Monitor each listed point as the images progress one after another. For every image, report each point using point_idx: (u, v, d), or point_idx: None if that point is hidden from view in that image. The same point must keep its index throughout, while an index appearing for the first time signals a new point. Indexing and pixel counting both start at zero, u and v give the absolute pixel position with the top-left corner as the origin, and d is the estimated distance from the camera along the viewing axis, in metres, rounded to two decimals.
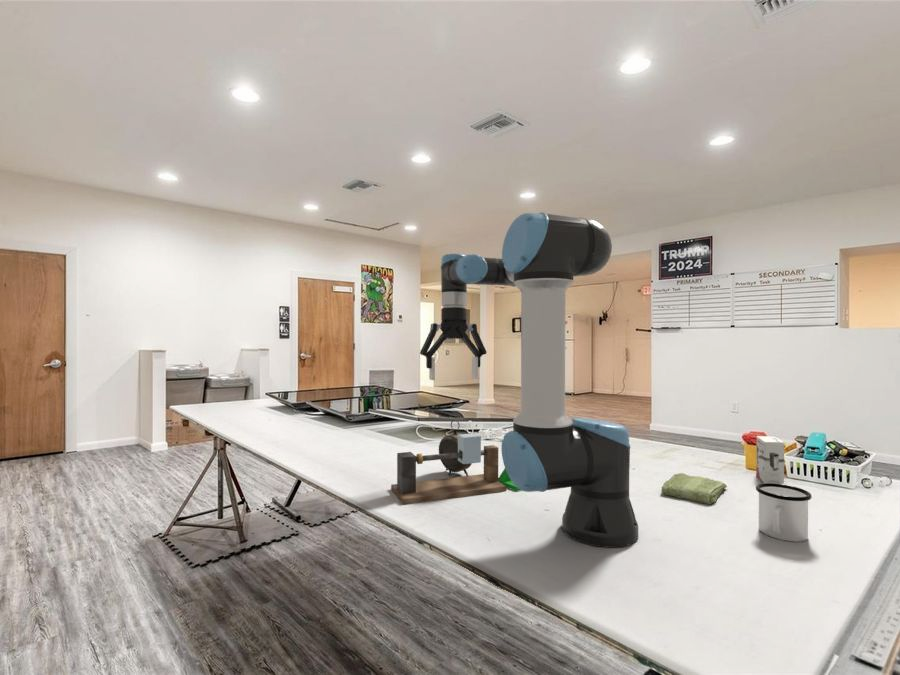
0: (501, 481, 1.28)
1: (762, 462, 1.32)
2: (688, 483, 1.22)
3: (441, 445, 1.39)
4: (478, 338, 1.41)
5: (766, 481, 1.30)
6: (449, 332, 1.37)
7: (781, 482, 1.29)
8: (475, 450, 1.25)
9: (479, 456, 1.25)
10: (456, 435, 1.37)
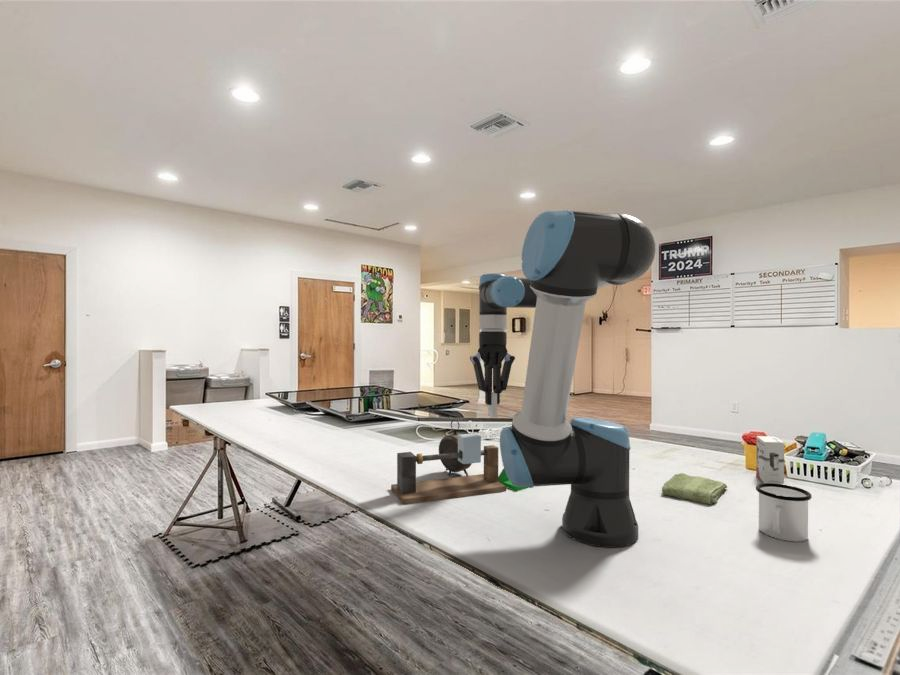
0: (500, 481, 1.29)
1: (762, 462, 1.32)
2: (689, 483, 1.22)
3: (441, 445, 1.39)
4: (508, 371, 1.30)
5: (766, 481, 1.30)
6: (491, 359, 1.27)
7: (781, 482, 1.29)
8: (475, 450, 1.25)
9: (479, 456, 1.25)
10: (456, 435, 1.37)
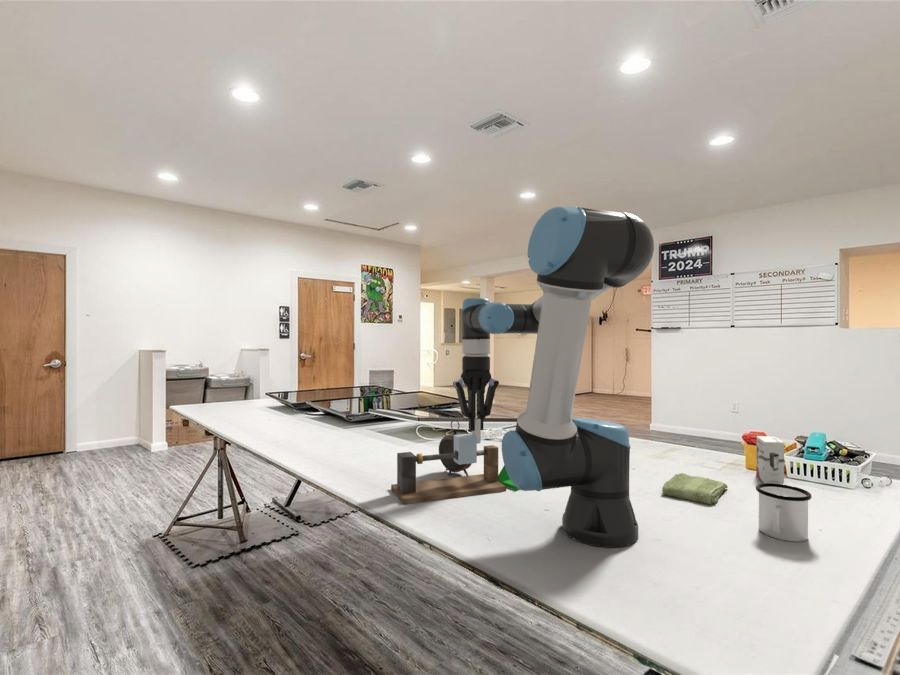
0: (500, 481, 1.29)
1: (762, 462, 1.32)
2: (689, 483, 1.22)
3: (441, 445, 1.39)
4: (492, 396, 1.28)
5: (766, 481, 1.30)
6: (474, 384, 1.25)
7: (781, 482, 1.29)
8: (471, 450, 1.25)
9: (475, 456, 1.25)
10: None
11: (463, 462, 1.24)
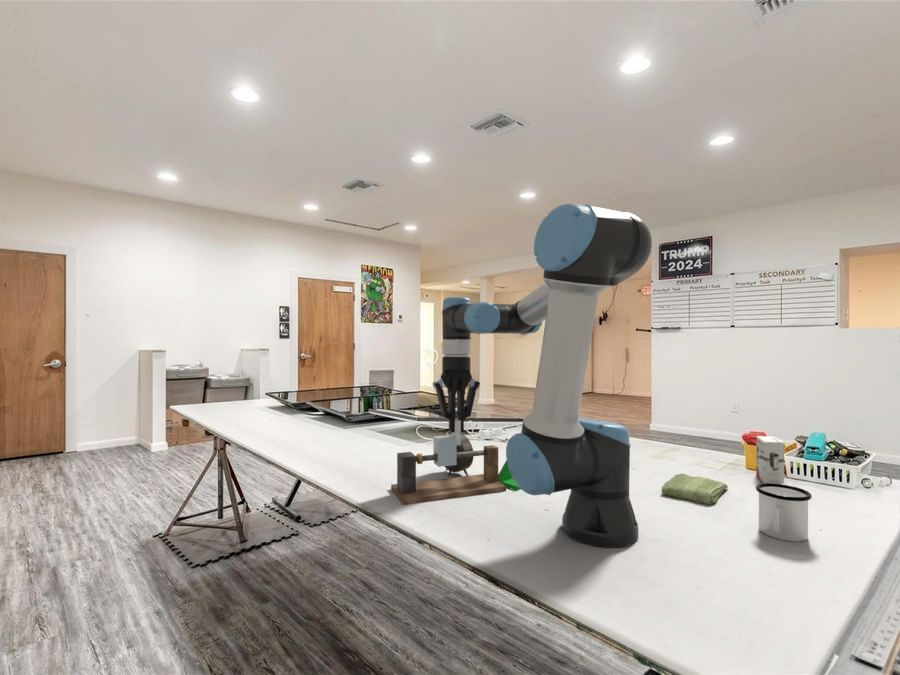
0: (499, 481, 1.29)
1: (762, 462, 1.32)
2: (689, 483, 1.22)
3: None
4: (472, 397, 1.26)
5: (766, 481, 1.30)
6: (454, 385, 1.23)
7: (781, 482, 1.29)
8: (451, 452, 1.22)
9: (455, 458, 1.23)
10: None
11: (442, 464, 1.22)
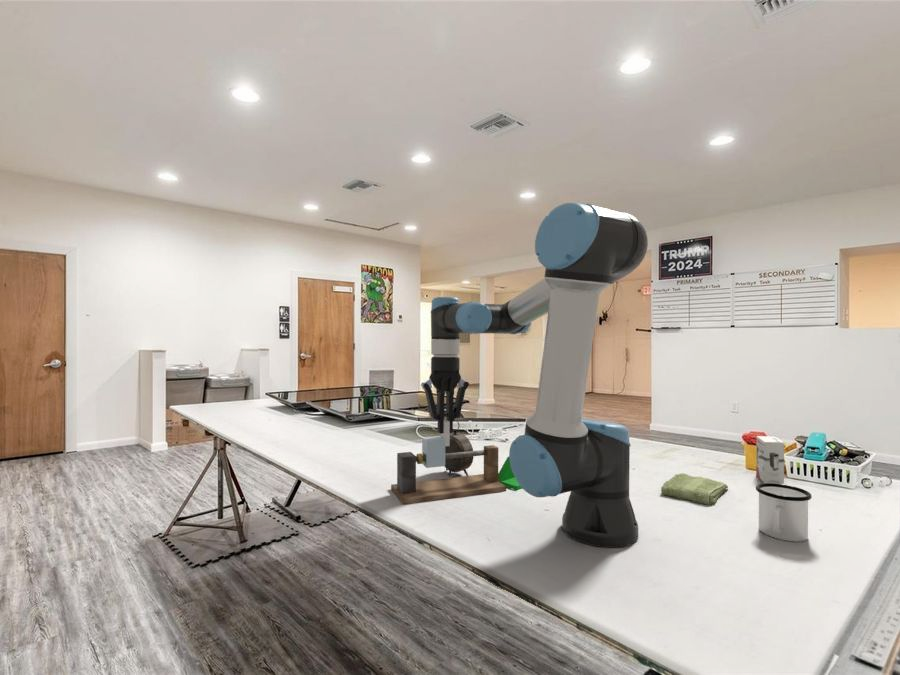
0: (499, 480, 1.29)
1: (762, 462, 1.32)
2: (688, 483, 1.22)
3: None
4: (461, 398, 1.24)
5: (766, 481, 1.30)
6: (443, 386, 1.22)
7: (781, 482, 1.29)
8: (439, 453, 1.21)
9: (443, 460, 1.22)
10: (456, 435, 1.37)
11: (431, 465, 1.21)
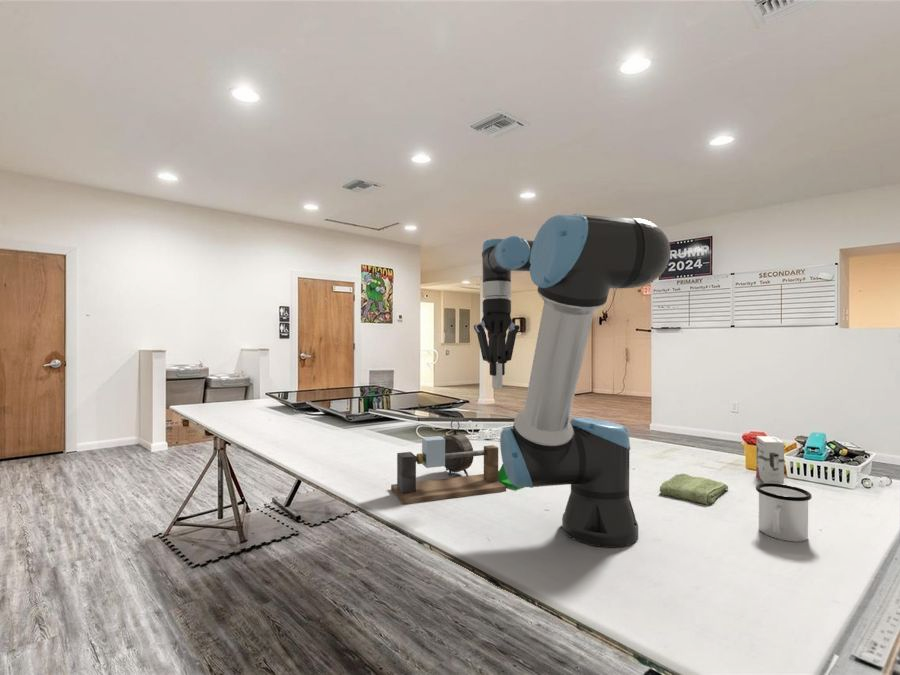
0: (499, 480, 1.29)
1: (762, 462, 1.32)
2: (687, 483, 1.22)
3: None
4: (512, 341, 1.25)
5: (766, 481, 1.30)
6: (496, 327, 1.22)
7: (781, 482, 1.29)
8: (439, 453, 1.21)
9: (443, 460, 1.22)
10: (456, 435, 1.37)
11: (431, 465, 1.21)
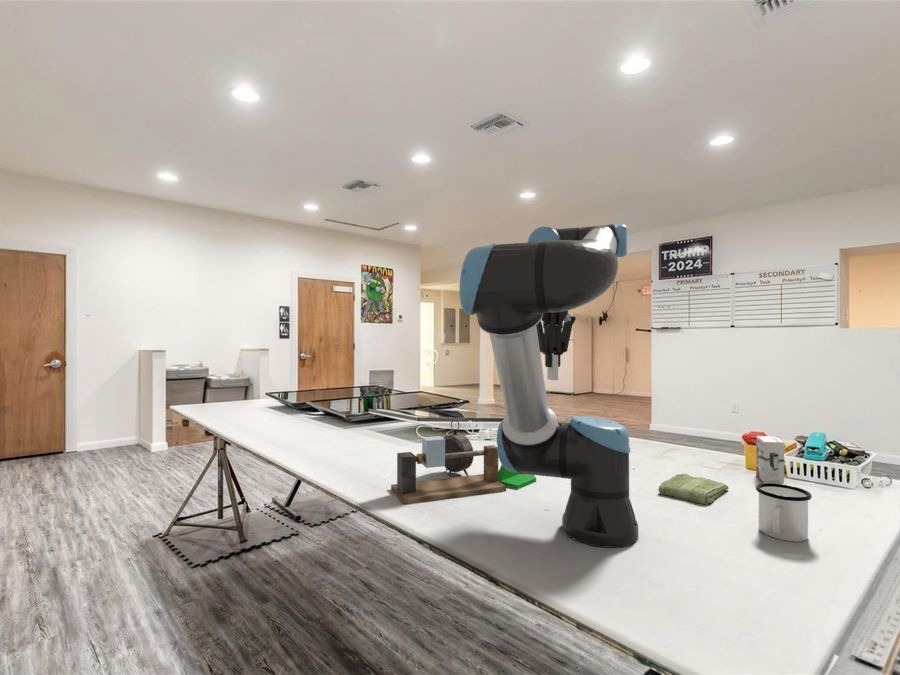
0: (499, 480, 1.29)
1: (762, 462, 1.32)
2: (687, 483, 1.22)
3: None
4: (569, 332, 1.23)
5: (766, 481, 1.30)
6: (552, 318, 1.21)
7: (781, 482, 1.29)
8: (439, 453, 1.21)
9: (443, 460, 1.22)
10: (456, 435, 1.37)
11: (431, 465, 1.21)
